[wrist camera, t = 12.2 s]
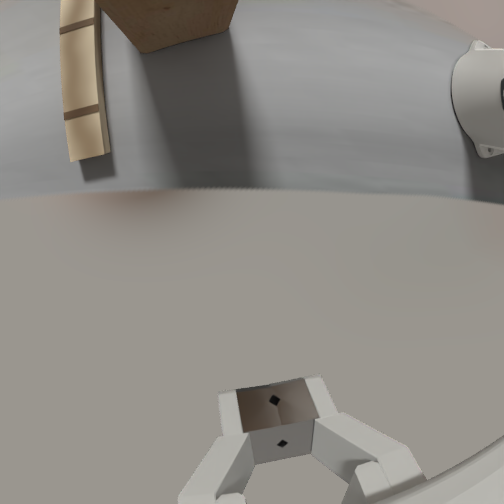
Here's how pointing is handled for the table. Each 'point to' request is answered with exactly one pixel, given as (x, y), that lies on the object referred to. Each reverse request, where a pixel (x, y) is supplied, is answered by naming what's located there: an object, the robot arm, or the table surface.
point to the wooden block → (168, 20)
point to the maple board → (82, 79)
